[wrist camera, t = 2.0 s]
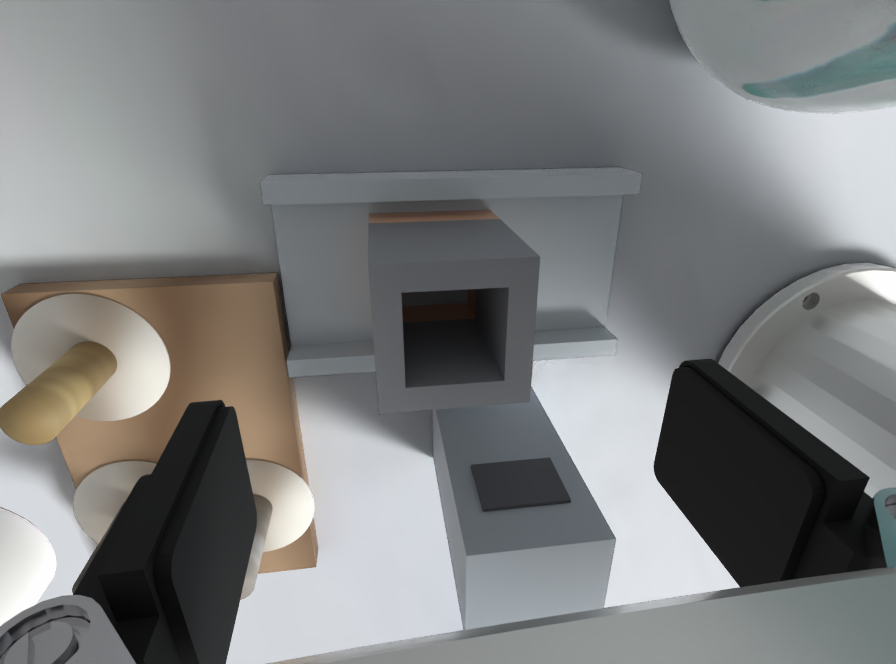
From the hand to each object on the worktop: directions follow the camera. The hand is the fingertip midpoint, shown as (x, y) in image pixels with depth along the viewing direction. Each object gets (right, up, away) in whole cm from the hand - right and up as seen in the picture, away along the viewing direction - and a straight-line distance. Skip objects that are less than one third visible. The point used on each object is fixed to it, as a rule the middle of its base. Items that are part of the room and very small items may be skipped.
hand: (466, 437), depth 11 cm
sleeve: (-1, +5, +11) cm, 12 cm away
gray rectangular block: (+1, -2, +16) cm, 16 cm away
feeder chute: (0, +5, +12) cm, 13 cm away
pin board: (-13, -3, +14) cm, 19 cm away
